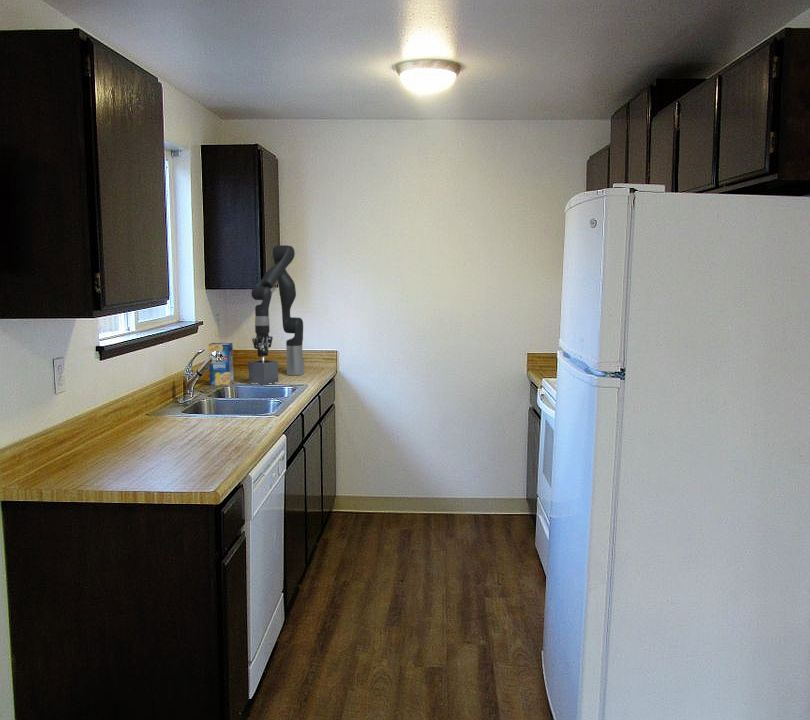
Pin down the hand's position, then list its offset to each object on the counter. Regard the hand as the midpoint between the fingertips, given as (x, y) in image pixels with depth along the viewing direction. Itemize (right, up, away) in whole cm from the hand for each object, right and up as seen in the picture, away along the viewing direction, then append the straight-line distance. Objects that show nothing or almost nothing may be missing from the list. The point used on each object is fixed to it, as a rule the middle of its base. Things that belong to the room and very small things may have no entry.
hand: (262, 356), depth 396 cm
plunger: (0, -12, +2) cm, 12 cm away
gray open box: (0, -15, +2) cm, 15 cm away
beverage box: (-22, -15, -1) cm, 27 cm away
